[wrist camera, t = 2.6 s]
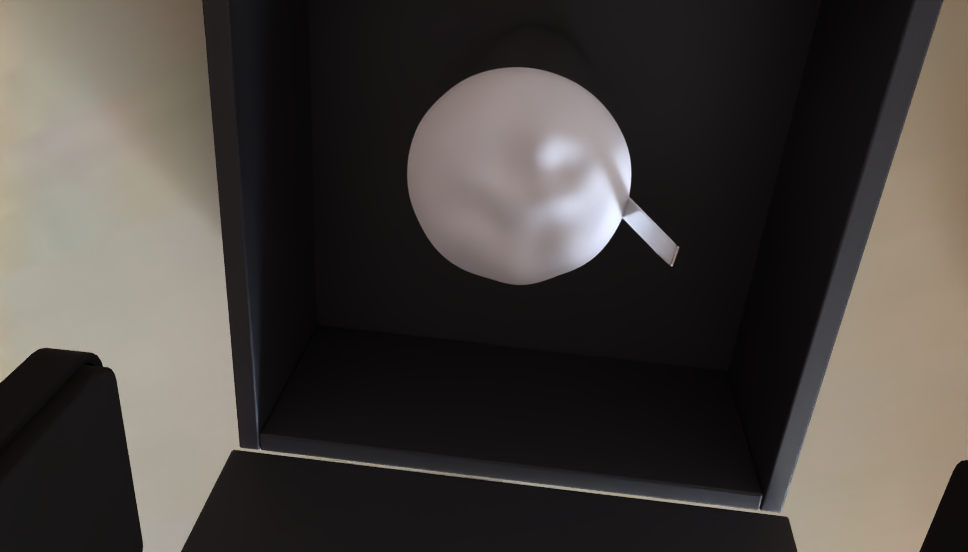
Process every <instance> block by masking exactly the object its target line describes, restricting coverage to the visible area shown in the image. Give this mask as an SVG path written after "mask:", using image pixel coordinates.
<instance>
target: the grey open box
mask: <svg viewBox="0 0 968 552" xmlns="http://www.w3.org/2000/svg"><path fill="white" fill-rule="evenodd" d="M202 2H203V14H204V26H205V38H206V50H207V62H208V74H209V86H210V97H211V109H212V121H213V133H214V145H215V157H216V169H217V181H218V193H219V204H220V216H221V228H222V240H223V252H224V264H225V276H226V288H227V299H228V311H229V323H230V335H231V347H232V359H233V371H234V383H235V394H236V406H237V418H238V430H239V442H240V447H241V448H248V449H257V450H258V449H260V448H261V450H266V451H274V452H282V453H291V454H299V455H307V456H316V457H324V458H332V459H340V460H349V461H357V462H365V463H373V464H382V465H390V466H398V467H407V468H415V469H423V470H431V471H440V472H448V473H456V474H465V475H473V476H481V477H489V478H498V479H506V480H514V481H523V482H531V483H539V484H547V485H556V486H564V487H572V488H580V489H589V490H597V491H605V492H614V493H622V494H630V495H638V496H647V497H655V498H663V499H672V500H680V501H688V502H696V503H705V504H713V505H721V506H730V507H738V508H746V509H754V510H758V509H759V508H760V510H762V511H770V512H778V513H779V512H781V510H782V507H783V504H784V501H785V498H786V495H787V491H788V488H789V485H790V482H791V479H792V476H793V473H794V469H795V466H796V463H797V460H798V457H799V454H800V450H801V447H802V444H803V441H804V438H805V435H806V432H807V428H808V425H809V422H810V419H811V416H812V413H813V409H814V406H815V403H816V400H817V397H818V394H819V391H820V387H821V384H822V381H823V378H824V375H825V372H826V368H827V365H828V362H829V359H830V356H831V353H832V350H833V346H834V343H835V340H836V337H837V334H838V331H839V327H840V324H841V321H842V318H843V315H844V312H845V309H846V305H847V302H848V299H849V296H850V293H851V290H852V286H853V283H854V280H855V277H856V274H857V271H858V268H859V264H860V261H861V258H862V255H863V252H864V249H865V245H866V242H867V239H868V236H869V233H870V230H871V227H872V223H873V220H874V217H875V214H876V211H877V208H878V204H879V201H880V198H881V195H882V192H883V189H884V186H885V182H886V179H887V176H888V173H889V170H890V167H891V163H892V160H893V157H894V154H895V151H896V148H897V145H898V141H899V138H900V135H901V132H902V129H903V126H904V122H905V119H906V116H907V113H908V110H909V107H910V104H911V100H912V97H913V94H914V91H915V88H916V85H917V81H918V78H919V75H920V72H921V69H922V66H923V63H924V59H925V56H926V53H927V50H928V47H929V44H930V40H931V37H932V34H933V31H934V28H935V25H936V22H937V18H938V15H939V12H940V9H941V6H942V3H943V0H202ZM529 24H531V25H535V26H539V27H543V28H548V29H552V30H556V31H560V32H565V33H566V34H567V35H568V36H569V38H570V39H571V40H572V41H573V43H574V44H575V45H576V46H577V47H578V49H579V50H580V51H581V52H582V54H583V55H584V56H585V57H586V58H587V60H588V61H589V63H590V65H591V68H592V70H593V73H594V75H595V77H596V80H597V82H598V85H599V87H600V90H601V92H602V95H603V97H604V100H605V103H606V104H607V106H608V108H609V110H610V112H611V114H612V115H613V117H614V119H615V121H616V123H617V125H618V126H619V128H620V130H621V132H622V134H623V137H624V139H625V142H626V144H627V147H628V151H629V156H630V162H631V186H630V193H629V197H630V198H631V199H632V200H633V201H634V202H635V203H636V204H637V205H638V206H639V207H640V208H641V209H642V210H643V211H644V212H645V213H646V214H647V215H648V216H649V217H650V218H651V219H652V220H653V221H654V222H655V223H656V224H657V225H658V226H659V227H660V228H661V229H662V230H663V231H664V232H665V233H667V234H668V235H669V236H670V237H671V238H672V239H673V240H674V241H675V242H676V244H677V245H678V246H679V250H678V253H677V256H676V259H675V261H674V264H673V266H672V267H669V266H668V265H667V264H666V263H665V262H664V261H663V260H662V259H661V258H660V257H659V256H658V255H657V254H656V253H655V252H654V250H653V249H652V248H651V247H650V246H649V245H648V244H647V243H646V242H645V241H644V240H643V239H642V238H641V237H640V236H639V235H638V234H637V233H636V232H635V231H634V230H633V229H632V228H631V227H630V225H629V224H628V223H627V222H626V221H625V220H624V219H623V218H622V219H621V222H620V224H619V226H618V227H617V229H616V231H615V233H614V234H613V236H612V237H611V239H610V240H609V242H608V243H607V244H606V246H605V247H604V248H603V249H602V250H601V251H600V252H599V253H598V254H597V255H596V256H595V257H594V258H593V259H592V260H590V261H589V262H587V263H586V264H584V265H582V266H581V267H579V268H577V269H574V270H572V271H569V272H567V273H564V274H561V275H558V276H556V277H553V278H550V279H547V280H545V281H541V282H538V283H534V284H527V285H513V284H507V283H503V282H499V281H496V280H493V279H489V278H486V277H482V276H479V275H476V274H473V273H470V272H468V271H466V270H463V269H461V268H459V267H458V266H456V265H454V264H453V263H451V262H450V261H449V260H447V259H446V258H445V257H444V256H443V255H441V254H440V253H439V252H438V250H437V249H436V248H435V247H434V246H433V244H432V243H431V242H430V240H429V239H428V237H427V236H426V234H425V232H424V231H423V229H422V227H421V225H420V223H419V221H418V219H417V216H416V214H415V212H414V209H413V206H412V203H411V200H410V196H409V191H408V182H407V166H408V157H409V151H410V147H411V143H412V140H413V137H414V134H415V132H416V129H417V127H418V125H419V123H420V122H421V120H422V118H423V117H424V116H425V114H426V113H427V112H428V110H429V109H430V108H431V107H432V106H433V104H434V103H435V102H436V101H437V100H438V99H439V98H440V97H441V96H442V95H443V94H444V93H445V92H447V91H448V90H449V89H450V88H451V87H452V86H453V85H454V84H455V83H456V82H457V81H459V80H460V79H461V78H462V77H463V76H464V75H465V74H466V73H467V72H468V70H469V69H470V68H471V67H472V66H473V65H474V64H475V62H476V61H477V60H478V59H479V58H480V57H481V55H482V54H483V53H484V52H485V51H486V50H487V49H488V47H489V46H490V45H491V44H492V43H493V42H494V41H495V39H497V38H499V37H501V36H504V35H506V34H509V33H511V32H513V31H515V30H518V29H520V28H522V27H525V26H527V25H529Z"/></svg>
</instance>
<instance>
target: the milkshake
mask: <svg viewBox="0 0 968 552" xmlns="http://www.w3.org/2000/svg"><path fill="white" fill-rule="evenodd" d="M407 182H408V191H409V196H410V200H411V203H412V206H413V209H414V212H415V214H416V216H417V219H418V221H419V223H420V225H421V227H422V229H423V231H424V232H425V234H426V236H427V237H428V239H429V240H430V242H431V243H432V244H433V246H434V247H435V248H436V249H437V250H438V252H439V253H440V254H441V255H443V256H444V257H445V258H446V259H447V260H449V261H450V262H451V263H453V264H454V265H456V266H458V267H459V268H461V269H463V270H466V271H468V272H470V273H473V274H476V275H479V276H482V277H486V278H489V279H493V280H496V281H499V282H503V283H507V284H513V285H527V284H534V283H538V282H541V281H545V280H547V279H550V278H553V277H556V276H558V275H561V274H564V273H567V272H569V271H572V270H574V269H577V268H579V267H581V266H582V265H584V264H586V263H587V262H589V261H590V260H592V259H593V258H594V257H595V256H596V255H597V254H598V253H599V252H600V251H601V250H602V249H603V248H604V247H605V246H606V244H607V243H608V242H609V240H610V239H611V237H612V236H613V234H614V233H615V231H616V229H617V227H618V226H619V224H620V222H621V219H622V218H623V219H624V220H625V221H626V222H627V223H628V224H629V225H630V227H631V228H632V229H633V230H634V231H635V232H636V233H637V234H638V235H639V236H640V237H641V238H642V239H643V240H644V241H645V242H646V243H647V244H648V245H649V246H650V247H651V248H652V249H653V250H654V252H655V253H656V254H657V255H658V256H659V257H660V258H661V259H662V260H663V261H664V262H665V263H666V264H667V265H668V266H669V267H672V266H673V264H674V261H675V259H676V256H677V253H678V250H679V246H678V245H677V244H676V242H675V241H674V240H673V239H672V238H671V237H670V236H669V235H668V234H667V233H665V232H664V231H663V230H662V229H661V228H660V227H659V226H658V225H657V224H656V223H655V222H654V221H653V220H652V219H651V218H650V217H649V216H648V215H647V214H646V213H645V212H644V211H643V210H642V209H641V208H640V207H639V206H638V205H637V204H636V203H635V202H634V201H633V200H632V199H631V198H630V197H629V193H630V186H631V162H630V156H629V151H628V147H627V144H626V142H625V139H624V137H623V134H622V132H621V130H620V128H619V126H618V125H617V123H616V121H615V119H614V117H613V115H612V114H611V112H610V110H609V108H608V106H607V104H606V103H605V100H604V97H603V95H602V92H601V90H600V87H599V85H598V82H597V80H596V77H595V75H594V73H593V70H592V68H591V65H590V63H589V61H588V60H587V58H586V57H585V56H584V55H583V54H582V52H581V51H580V50H579V49H578V47H577V46H576V45H575V44H574V43H573V41H572V40H571V39H570V38H569V36H568V35H567V34H566V33H565V32H560V31H556V30H552V29H548V28H543V27H539V26H535V25H531V24H529V25H527V26H525V27H522V28H520V29H518V30H515V31H513V32H511V33H509V34H506V35H504V36H501V37H499V38H497V39H495V41H494V42H493V43H492V44H491V45H490V46H489V47H488V49H487V50H486V51H485V52H484V53H483V54H482V55H481V57H480V58H479V59H478V60H477V61H476V62H475V64H474V65H473V66H472V67H471V68H470V69H469V70H468V72H467V73H466V74H465V75H464V76H463V77H462V78H461V79H460V80H459V81H457V82H456V83H455V84H454V85H453V86H452V87H451V88H450V89H449V90H448V91H447V92H445V93H444V94H443V95H442V96H441V97H440V98H439V99H438V100H437V101H436V102H435V103H434V104H433V106H432V107H431V108H430V109H429V110H428V112H427V113H426V114H425V116H424V117H423V118H422V120H421V122H420V123H419V125H418V127H417V129H416V132H415V134H414V137H413V140H412V143H411V147H410V151H409V157H408V166H407Z"/></svg>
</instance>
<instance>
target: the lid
mask: <svg viewBox="0 0 968 552" xmlns="http://www.w3.org/2000/svg"><path fill="white" fill-rule="evenodd" d="M181 552H797V548H796V545H795V541H794V537H793V533H792V530H791V526H790V522H789V519H788V517H784V516H776V515H768V514H760V513H751V512H743V511H735V510H727V509H718V508H710V507H702V506H693V505H685V504H677V503H669V502H660V501H652V500H644V499H636V498H627V497H619V496H611V495H603V494H594V493H586V492H578V491H570V490H561V489H553V488H545V487H536V486H528V485H520V484H512V483H503V482H495V481H487V480H479V479H470V478H462V477H454V476H446V475H437V474H429V473H421V472H412V471H404V470H396V469H388V468H379V467H371V466H363V465H355V464H346V463H338V462H330V461H322V460H313V459H305V458H297V457H288V456H280V455H272V454H264V453H255V452H247V451H239V450H233V451H232V452H231V454H230V456H229V458H228V460H227V462H226V464H225V466H224V468H223V470H222V471H221V473H220V475H219V477H218V479H217V481H216V483H215V485H214V487H213V489H212V491H211V493H210V495H209V497H208V499H207V501H206V503H205V505H204V507H203V509H202V511H201V513H200V515H199V517H198V519H197V521H196V523H195V525H194V527H193V529H192V531H191V533H190V535H189V537H188V539H187V541H186V543H185V545H184V547H183V549H182V551H181Z"/></svg>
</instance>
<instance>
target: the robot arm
mask: <svg viewBox="0 0 968 552" xmlns="http://www.w3.org/2000/svg"><path fill="white" fill-rule="evenodd" d="M142 551H143V540H142V534H141V528H140V522H139V516H138V510H137V504H136V498H135V491H134V485H133V479H132V473H131V467H130V461H129V455H128V449H127V442H126V436H125V430H124V424H123V418H122V412H121V406H120V400H119V393H118V387H117V381H116V377H115V374H114V372H113V371H112V369H110V368H108V367H103V365H102V362H101V360H100V359H99V357H98V356H97V355H95V354H93V353H89V352H80V351H70V350H61V349H52V348H42V349H38V350H37V351H35V352H34V353H32V354H31V355H30V356H29V357H28V358H27V359H26V360H25V361H24V362H23V363H22V364H20V365H19V366H18V367H17V368H16V369H15V370H14V371H13V372H12V373H11V374H10V375H9V376H8V377H6V378H5V379H4V380H3V381H2V382H1V383H0V552H142ZM920 552H968V460H965V461H961V462H960V463H959V464H957V466H956V467H955V469H954V471H953V473H952V475H951V478H950V480H949V483H948V485H947V487H946V490H945V492H944V495H943V497H942V499H941V502H940V504H939V506H938V509H937V511H936V514H935V516H934V518H933V521H932V523H931V526H930V528H929V530H928V533H927V535H926V538H925V540H924V542H923V545H922V547H921V549H920Z"/></svg>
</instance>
